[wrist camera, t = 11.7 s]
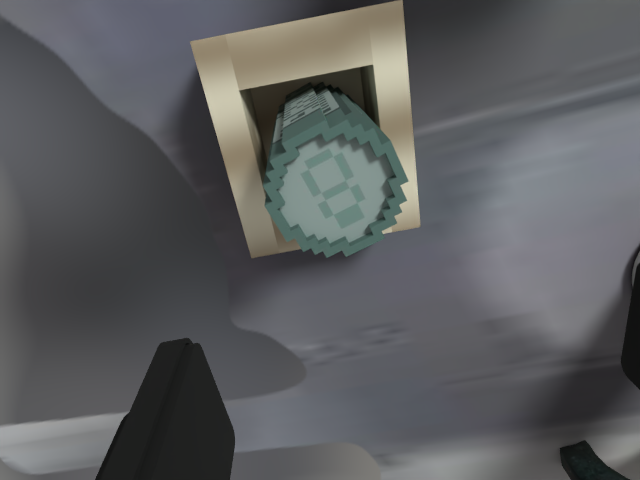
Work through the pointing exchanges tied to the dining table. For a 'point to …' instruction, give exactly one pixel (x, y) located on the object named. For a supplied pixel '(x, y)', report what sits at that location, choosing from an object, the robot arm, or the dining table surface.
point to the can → (331, 173)
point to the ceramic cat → (586, 464)
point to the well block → (291, 74)
